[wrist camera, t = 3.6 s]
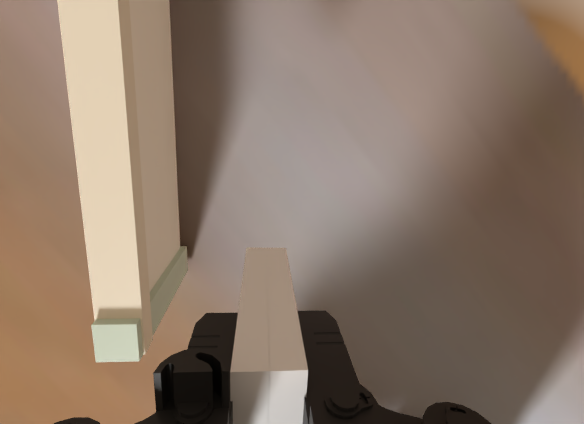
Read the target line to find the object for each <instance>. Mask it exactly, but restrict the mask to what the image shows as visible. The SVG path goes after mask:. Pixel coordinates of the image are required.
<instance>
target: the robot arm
mask: <svg viewBox="0 0 584 424" xmlns="http://www.w3.org/2000/svg"><path fill="white" fill-rule="evenodd" d="M153 375H154V388H155V401H156V413H155V414H153V415H151V416H150V417H148V418H146V419H145V420H143V421H140V422H138V423H135V424H491V423H490V422H489V421H487V420H486V419H485V418H484V417H482V416H481V415H480V414H478V413H477V412H475V411H473V410H471V409H469V408H467V407H465V406H463V405H459V404H454V403H450V402H442V403H435V404H433V405H431V406H430V407H428V408H427V409H426V411H425V413H424V415H423V419H421V418H417V417H413V416H408V415H404V414H400V413H396V412H394V411H391V410H388V409H385V408H384V407H382V406H380V405H378V403H377V401H376V400H375V398H374V397H373V395H372V394H371V392H369V391H368V390H367V389H366V388H364V387H363V386H362V385H360V384H359V381H358V379H357V376H356V373H355V371H354V368H353V365H352V362H351V360H350V357H349V354H348V352H347V349H346V346H345V345H344V341H343V338H342V335H341V334H340V330H339V327H338V324H337V322H336V320H335V319H334V318H333V317H332V316H331V315H330V314H329V313H328V312H326V311H297V306H296V301H295V295H294V290H293V284H292V279H291V273H290V268H289V263H288V257H287V252H286V248H246V256H245V263H244V271H243V279H242V286H241V294H240V301H239V309H238V313H206V314H205V315H204V316H203V317H202V318H201V319H200V320H199V321H198V322H197V323H196V324H195V327H194V330H193V333H192V338H191V339H190V342H189V345H188V349H187V350H184V351H181V352H178V353H176V354H173V355H171V356H170V357H168V358H167V359H166V360H164V361H163V362H161V363H160V365H159V366H158V367H157V369H156V370H155V372H154V373H153ZM54 424H100V423H99V422H98V421H95V420H93V419H91V418H70V419H67V420H63V421H59V422H56V423H54Z"/></svg>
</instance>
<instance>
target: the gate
mask: <svg viewBox="0 0 584 424" xmlns="http://www.w3.org/2000/svg"><path fill="white" fill-rule="evenodd" d="M57 3H58V11H59V20H60V28H61V37H62V45H63V54H64V62H65V71H66V80H67V88H68V97H69V105H70V114H71V122H72V131H73V140H74V148H75V157H76V165H77V174H78V182H79V191H80V199H81V208H82V217H83V225H84V234H85V242H86V251H87V259H88V268H89V277H90V285H91V294H92V302H93V311H94V319H95V321H94V322H93V324H92V325H91V326H92V334H93V342H94V351H95V359H96V362H127V361H140V359H141V357H142V356H143V354H146V352H147V350H148V348H149V346H150V344H151V342H152V340H153V335H154V333H155V331H156V329H157V327H158V325H159V323H160V322H161V320H162V318H163V316H164V314H165V312H166V310H167V308H168V306H169V305H170V303H171V301H172V299H173V297H174V295H175V293H176V291H177V289H178V288H179V286H180V284H181V282H182V280H183V278H184V276H185V274H186V273H187V271H188V263H187V246H180V230H179V208H178V185H177V162H176V139H175V117H174V94H173V71H172V49H171V26H170V3H169V0H57Z"/></svg>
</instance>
